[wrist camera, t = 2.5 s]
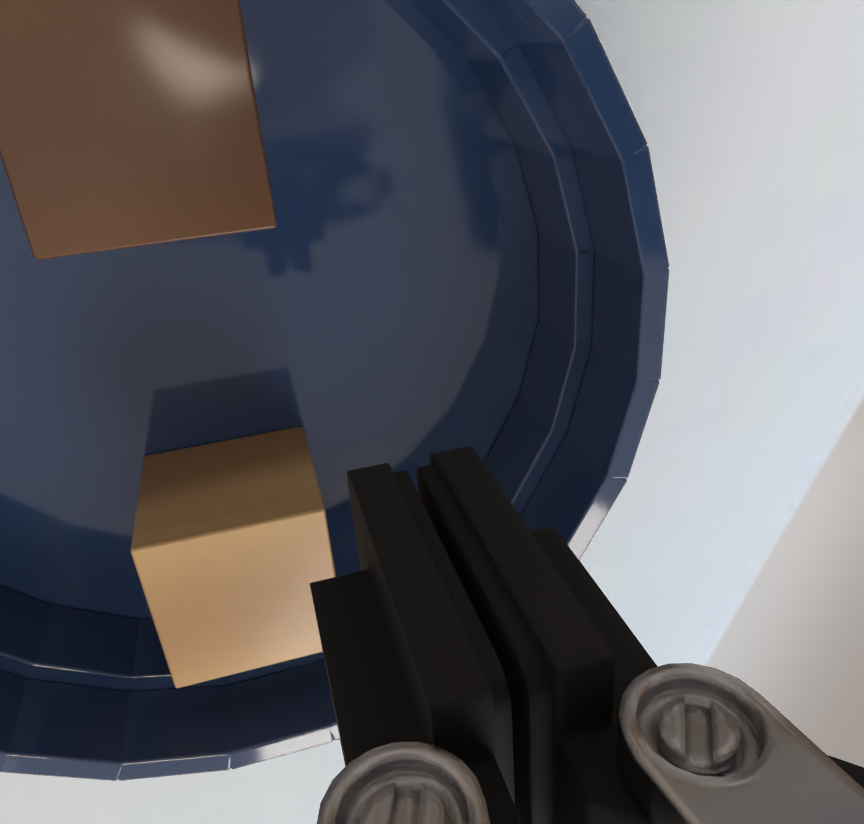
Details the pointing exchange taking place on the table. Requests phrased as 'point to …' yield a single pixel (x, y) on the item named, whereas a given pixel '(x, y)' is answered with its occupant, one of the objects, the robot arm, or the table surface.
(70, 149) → the walnut block
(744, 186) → the table surface
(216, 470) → the maple block
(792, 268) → the table surface
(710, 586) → the table surface
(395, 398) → the bowl
